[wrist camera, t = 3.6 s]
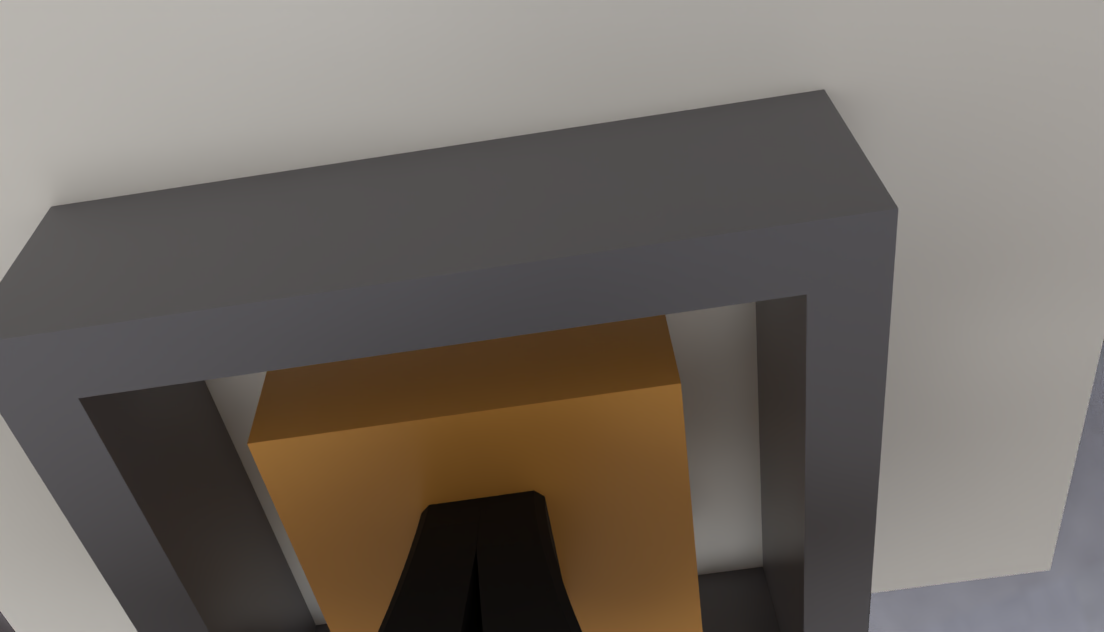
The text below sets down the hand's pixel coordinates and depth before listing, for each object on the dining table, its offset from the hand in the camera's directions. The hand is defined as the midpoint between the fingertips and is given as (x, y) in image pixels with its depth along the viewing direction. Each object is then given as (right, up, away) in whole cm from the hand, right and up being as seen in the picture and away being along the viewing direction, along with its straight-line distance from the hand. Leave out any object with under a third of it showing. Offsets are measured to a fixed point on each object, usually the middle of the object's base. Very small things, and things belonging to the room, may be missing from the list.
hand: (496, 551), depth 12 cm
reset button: (0, +1, +1) cm, 2 cm away
